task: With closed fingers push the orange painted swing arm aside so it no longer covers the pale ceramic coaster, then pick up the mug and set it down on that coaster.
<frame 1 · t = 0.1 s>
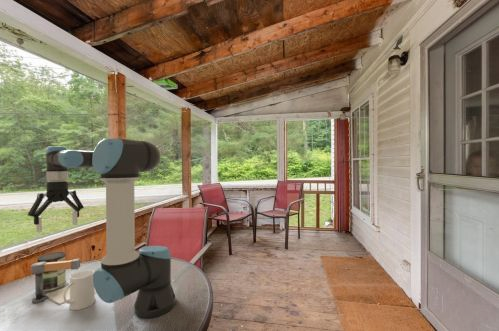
hand: (58, 228, 107), 28 cm above the table, fingers open, 13 cm apart
coffee can: (52, 286, 111), on the table
swing arm: (55, 266, 100), point 13 cm above the table, hinge at 0.0°
post: (39, 300, 99), on the table
coaster: (70, 293, 104), on the table
mug: (78, 306, 94), on the table
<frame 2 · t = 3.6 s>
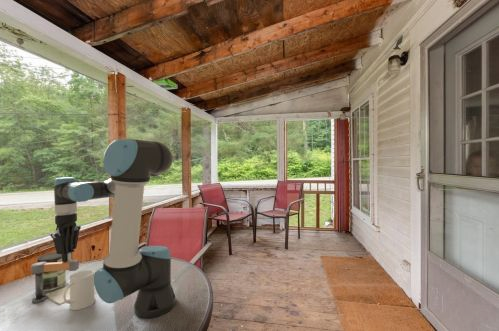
hand: (67, 268, 102), 12 cm above the table, fingers closed
swing arm: (54, 266, 100), point 13 cm above the table, hinge at -5.9°, touching gripper
everything else where it was.
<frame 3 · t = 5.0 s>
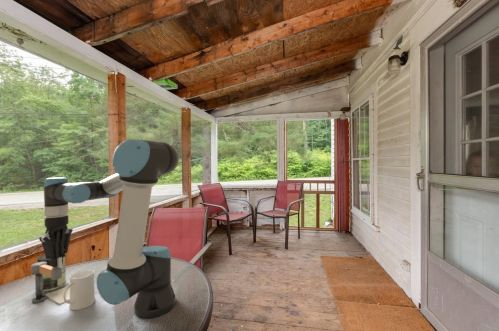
hand: (57, 273, 97), 12 cm above the table, fingers closed
swing arm: (46, 270, 96), point 13 cm above the table, hinge at -40.3°, touching gripper
everything else where it was.
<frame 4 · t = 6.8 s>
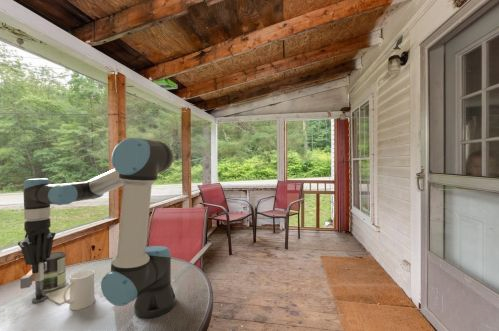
hand: (38, 280, 91), 12 cm above the table, fingers closed
swing arm: (33, 273, 93), point 13 cm above the table, hinge at -78.7°, touching gripper
everything else where it was.
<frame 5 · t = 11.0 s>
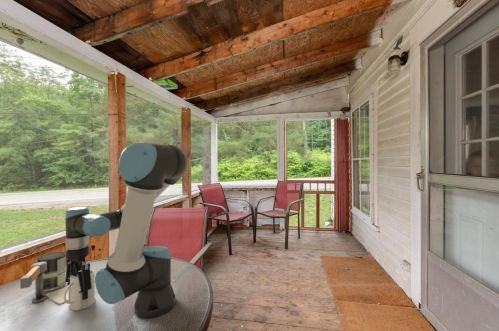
hand: (78, 303, 94), 1 cm above the table, fingers closed on mug, 8 cm apart
swing arm: (33, 273, 93), point 13 cm above the table, hinge at -78.7°
mug: (78, 306, 94), on the table, touching gripper
everything else where it was.
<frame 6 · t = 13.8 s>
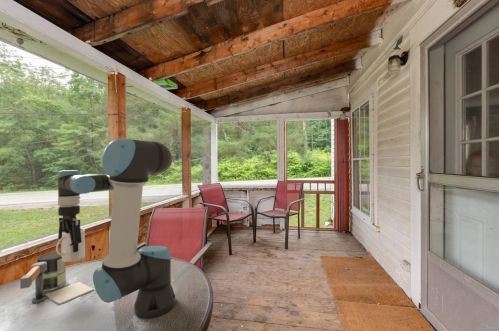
hand: (69, 257, 104), 16 cm above the table, fingers closed on mug, 8 cm apart
mug: (70, 259, 104), point 15 cm above the table, touching gripper
everything else where it was.
when the fingers open (2 cm above the table, at t = 16.6 s): mug stays where it is, resting on coaster.
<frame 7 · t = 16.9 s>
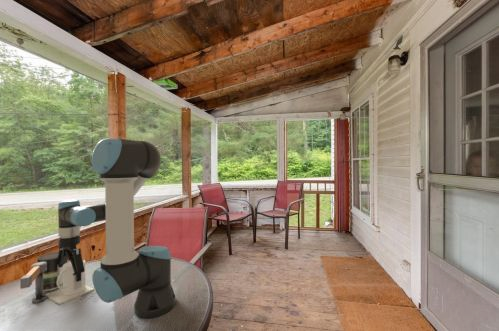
hand: (70, 284, 104), 4 cm above the table, fingers open, 12 cm apart
mug: (70, 292, 104), resting on coaster
everything else where it was.
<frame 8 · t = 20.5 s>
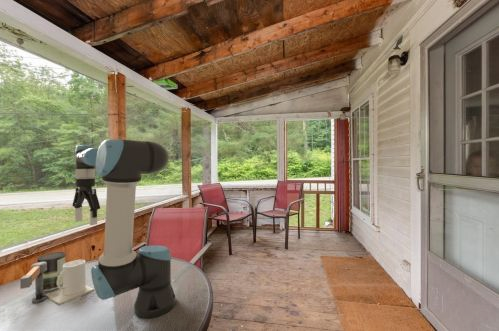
hand: (86, 223, 112), 29 cm above the table, fingers open, 13 cm apart
nothing on the table moved.
at the end: swing arm at -79° (first picture: +0°); mug inside the target area on the coaster (0.4 cm from its centre), point 0.4 cm above the coaster's base; mug tilted 0° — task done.
